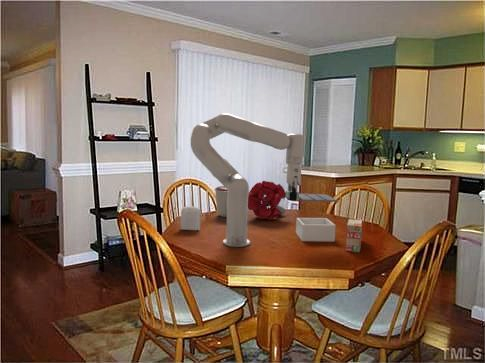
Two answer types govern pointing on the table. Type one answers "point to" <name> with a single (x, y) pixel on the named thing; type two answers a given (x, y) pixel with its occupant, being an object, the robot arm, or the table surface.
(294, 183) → the robot arm
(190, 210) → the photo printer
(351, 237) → the printed milk carton
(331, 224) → the tub
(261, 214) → the bouquet
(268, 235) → the table surface
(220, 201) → the canister
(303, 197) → the lid
